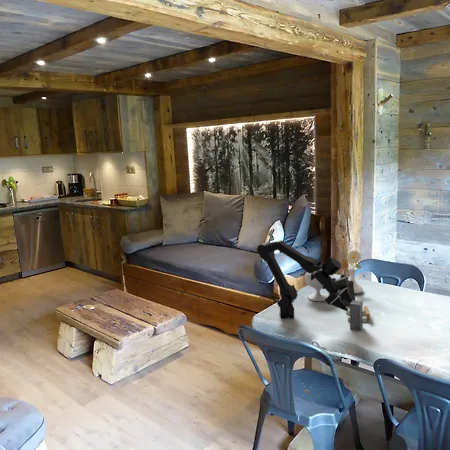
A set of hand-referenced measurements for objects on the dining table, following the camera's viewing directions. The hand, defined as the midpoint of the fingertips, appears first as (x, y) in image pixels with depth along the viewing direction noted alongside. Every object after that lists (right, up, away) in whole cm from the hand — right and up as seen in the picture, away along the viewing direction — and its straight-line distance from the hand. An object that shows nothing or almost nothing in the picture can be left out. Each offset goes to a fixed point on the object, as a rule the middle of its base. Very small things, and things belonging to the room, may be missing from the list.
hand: (350, 306), depth 197 cm
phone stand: (+7, -4, +31) cm, 32 cm away
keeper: (+7, -7, +12) cm, 16 cm away
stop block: (+3, -10, 0) cm, 10 cm away
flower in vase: (+15, -1, +46) cm, 48 cm away
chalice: (-6, -3, +41) cm, 41 cm away
